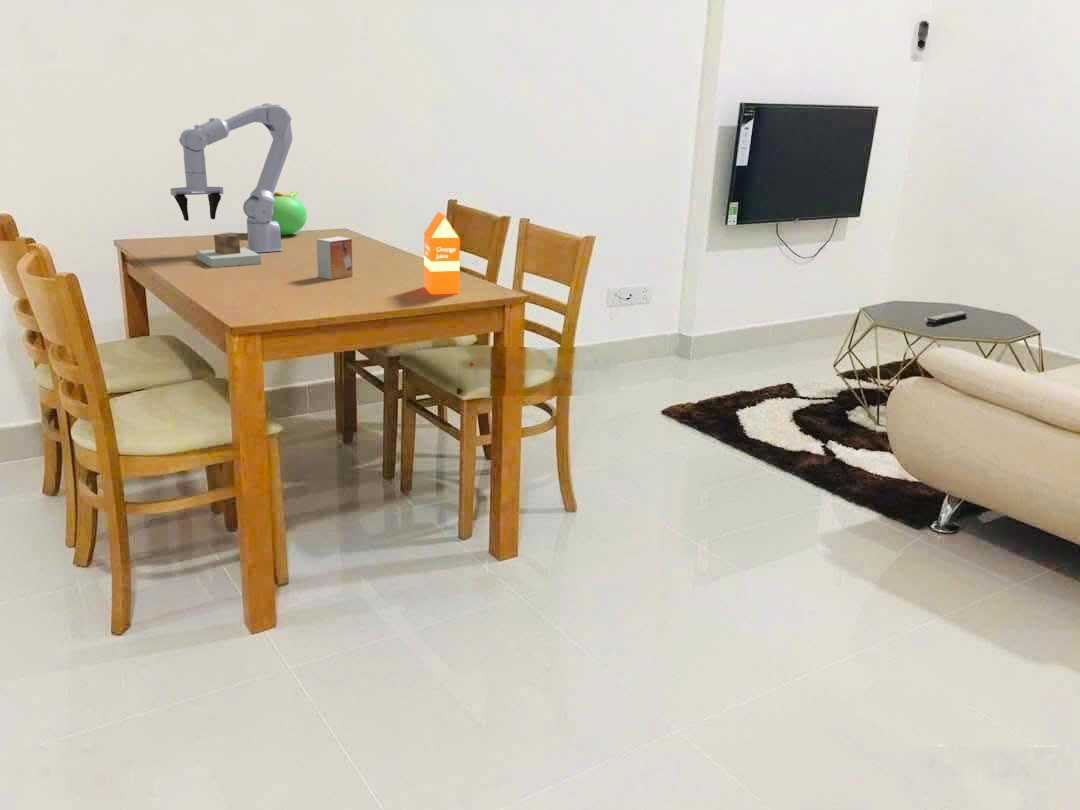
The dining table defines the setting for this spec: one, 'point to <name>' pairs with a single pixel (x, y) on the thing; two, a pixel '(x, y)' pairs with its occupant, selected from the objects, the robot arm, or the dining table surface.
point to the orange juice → (441, 257)
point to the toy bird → (288, 212)
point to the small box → (334, 257)
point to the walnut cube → (227, 244)
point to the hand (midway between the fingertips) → (199, 219)
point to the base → (228, 258)
